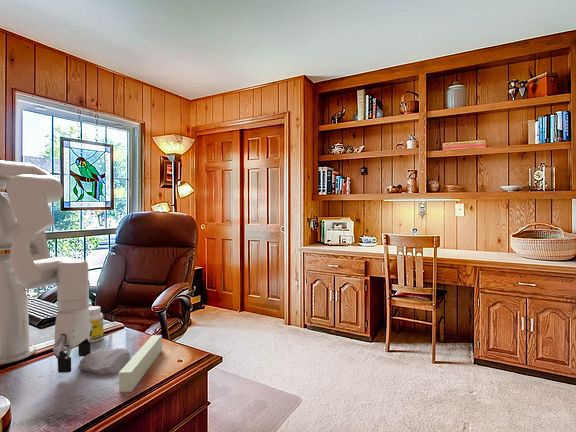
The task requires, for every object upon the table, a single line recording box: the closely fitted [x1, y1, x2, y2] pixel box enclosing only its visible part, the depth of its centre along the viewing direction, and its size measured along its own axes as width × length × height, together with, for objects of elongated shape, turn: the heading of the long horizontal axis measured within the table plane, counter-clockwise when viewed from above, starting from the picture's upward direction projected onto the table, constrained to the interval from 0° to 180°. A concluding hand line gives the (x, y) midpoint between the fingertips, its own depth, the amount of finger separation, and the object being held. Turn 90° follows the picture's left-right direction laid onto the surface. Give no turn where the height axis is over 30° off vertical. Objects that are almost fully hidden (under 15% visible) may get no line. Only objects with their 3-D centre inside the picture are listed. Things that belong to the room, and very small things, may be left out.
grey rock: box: [78, 347, 131, 376], centre depth 100 cm, size 12×5×10 cm
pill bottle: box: [89, 305, 104, 343], centre depth 119 cm, size 6×6×11 cm
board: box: [118, 334, 163, 393], centre depth 99 cm, size 3×24×5 cm, turn 2°
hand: (75, 363), depth 98 cm, fingers open, 9 cm apart
